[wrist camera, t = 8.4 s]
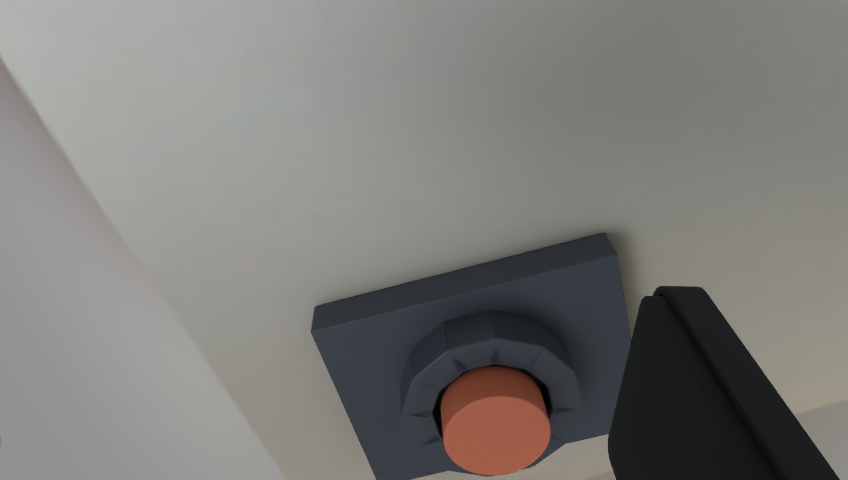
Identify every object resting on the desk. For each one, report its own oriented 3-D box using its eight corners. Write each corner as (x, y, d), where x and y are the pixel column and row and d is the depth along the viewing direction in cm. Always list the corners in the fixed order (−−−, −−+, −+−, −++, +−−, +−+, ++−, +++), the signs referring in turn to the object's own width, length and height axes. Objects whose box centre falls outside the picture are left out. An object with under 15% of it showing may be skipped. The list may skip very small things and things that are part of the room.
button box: (379, 458, 33) (378, 520, 30) (314, 306, 29) (305, 361, 26) (633, 398, 32) (659, 457, 29) (605, 231, 28) (631, 279, 25)
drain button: (454, 451, 29) (458, 485, 27) (428, 379, 27) (431, 411, 25) (550, 429, 29) (559, 462, 27) (531, 354, 27) (540, 385, 25)
